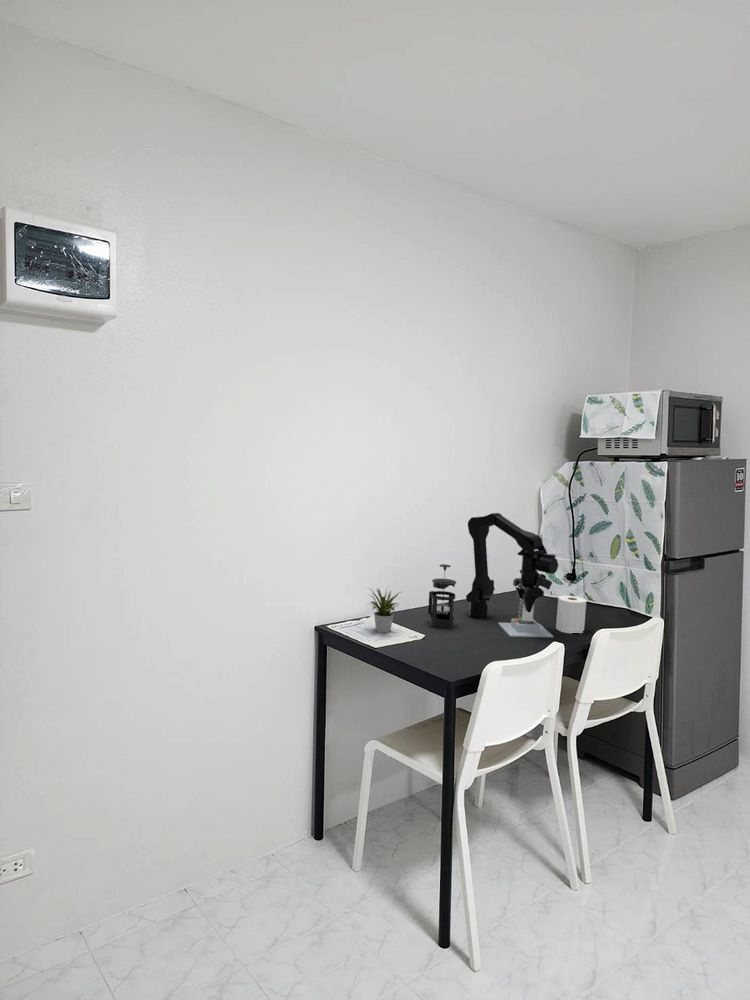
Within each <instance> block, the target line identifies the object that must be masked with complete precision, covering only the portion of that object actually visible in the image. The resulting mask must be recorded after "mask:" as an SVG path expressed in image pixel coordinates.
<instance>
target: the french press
mask: <svg viewBox="0 0 750 1000" xmlns="http://www.w3.org/2000/svg"><path fill="white" fill-rule="evenodd" d="M439 567H441V568H443V571H444V572H443V578H433V579H432V587H433V588H435V589H440V590H437V591H436V590H435V591H434V590H431V591H430V590H429V591H428V593H429V594H428V605H427V606H428V609H427V611H428V612H427V613H428V615H429V624H428V625H429V626H430V627H432V628H435V629H441V630H442V629H443V630H447V629H452V628H454V627H455V624H454V623H455V621H454V620H455V617H454V610H455V609H454V601H455V600H456V593H453V592H450V591H445V589H447V588H449V586H450V587H453V588H455V586H456V584H457V581H456V580H454V579H449V578H446V571H447V568H451V565H449V564H446V563H445V564H444V563H443V564H439ZM439 595H441V596H439ZM438 600H439V601H442V603H441V604H442V605H438ZM444 601H448V605H444Z"/></svg>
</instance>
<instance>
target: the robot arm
mask: <svg viewBox="0 0 750 1000" xmlns="http://www.w3.org/2000/svg"><path fill="white" fill-rule="evenodd" d="M492 526H495V527H497V528H498V529H500V530H501V531H502V532H504V533H505V534H507V535H508V536H509V537H511V538H512V539H514V540H515V542H516V544H517V545H518V547H520V548H521V550H520V551H519V552H517V554H516V555H518V556H521V557H522V559H521V569H519V573H520V574H521V575H520V577H516V578H514V579H513V581H512V585H513V586H514V587H515V590H516V593H517V595H518V598H519V600H520V598H524V601H525V605H526V609H527V612H531V610H532V607H533V604H534V605H535V601H536V600H537V599H539V598H544V597H545V596H544V595H545V591H544V590H543V589H542V588H545V589H546V590H550V589H551V587H552V584H553V581H552V580H550V579H548V578H547V576H546V574H543V573H547V574H552V575H553V574H556V572H557V571H558V568H559V563H558V559H557V558H556V554H553V553H552V554H551V553H550V554H549V553H548V551H547V550H546V547H545V546H544V544H543V540H542V538H541V536H540V535H538V534H535V533H534V532H531V531H527V530H525V529H523V528H521V527H520V526H518V525H516V524H515V523H514V522H512V521H510V520H509V519H508V518H506V517H505V516H503V514H502V513H499V512H493V513H489V514H486V515H484V516H475V517H473V516H472V517H470V519H469V520H468V522H467V528H468V534H469V535H470V537H471V538H472V541H473V542H472V543H473V556H474V570H475V572H474V575H475V576H474V579H473V581H472V584H471V591H470V592H469V593H467V594H466V595H465V598H466V602H469V603H468V612H467V615H468V616H469V617H470V619H487V618H488V617H487V616H488V609H489V608H488V607H489V605H488V604H487V602H489V601H490V600H491V598H492V596H493V595H494V592H495V590H496V589H495V579H491V578H490V576H489V571H488V569H489V568H488V554H487V552H488V551H487V550H488V549H487V538H488V535H489V532H490V527H492ZM539 572H541V573H539ZM541 587H542V588H541Z"/></svg>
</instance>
